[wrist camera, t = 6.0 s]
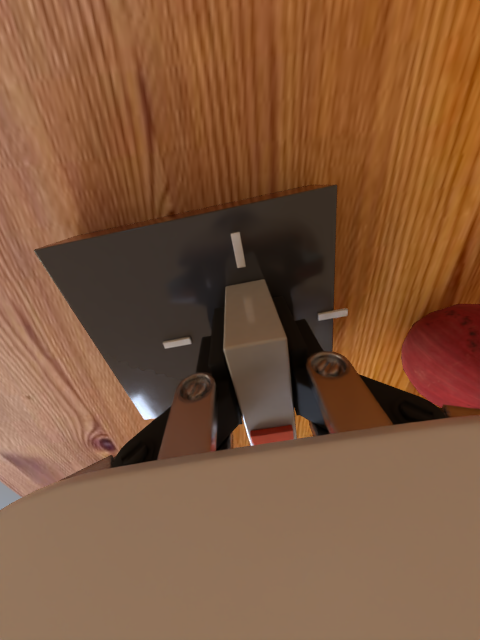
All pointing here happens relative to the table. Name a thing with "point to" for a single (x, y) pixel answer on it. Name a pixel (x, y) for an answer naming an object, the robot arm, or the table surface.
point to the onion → (446, 356)
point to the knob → (259, 362)
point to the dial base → (195, 281)
